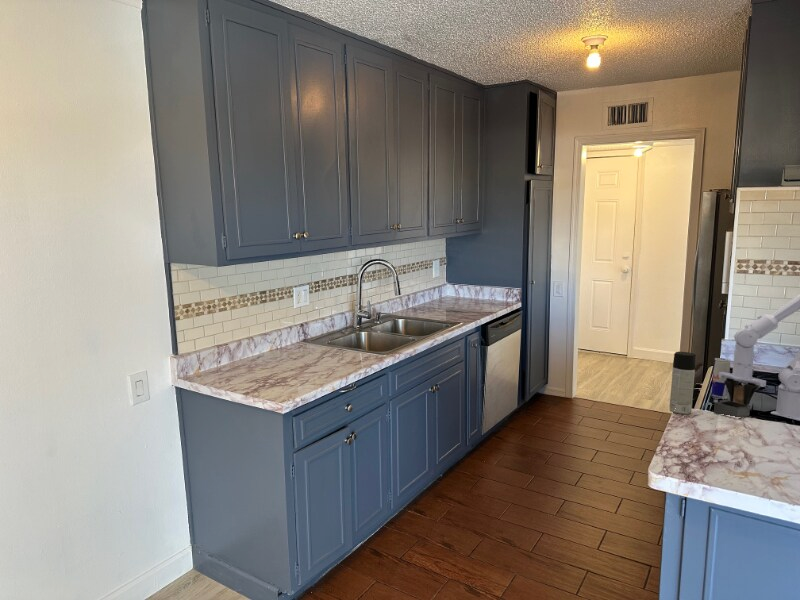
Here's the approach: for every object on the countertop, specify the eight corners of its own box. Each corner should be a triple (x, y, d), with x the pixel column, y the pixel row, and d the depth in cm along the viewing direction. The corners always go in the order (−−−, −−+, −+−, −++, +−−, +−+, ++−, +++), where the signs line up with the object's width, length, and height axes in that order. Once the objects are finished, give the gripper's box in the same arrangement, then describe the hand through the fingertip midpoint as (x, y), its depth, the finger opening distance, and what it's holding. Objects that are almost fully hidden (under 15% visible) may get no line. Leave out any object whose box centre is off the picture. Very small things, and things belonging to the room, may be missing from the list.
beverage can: (712, 396, 210) (716, 356, 208) (728, 398, 207) (731, 359, 205) (709, 398, 206) (713, 358, 204) (725, 401, 203) (729, 360, 201)
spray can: (693, 412, 188) (698, 353, 186) (687, 416, 183) (692, 355, 181) (672, 407, 192) (677, 350, 191) (666, 411, 187) (670, 352, 186)
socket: (749, 416, 185) (750, 405, 185) (737, 419, 181) (738, 408, 181) (725, 410, 191) (726, 400, 191) (713, 412, 187) (714, 402, 187)
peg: (748, 410, 192) (750, 387, 191) (742, 411, 190) (744, 388, 189) (736, 407, 196) (738, 384, 195) (729, 408, 193) (731, 386, 193)
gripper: (715, 360, 195) (712, 398, 196) (760, 369, 183) (756, 409, 184) (726, 359, 199) (722, 396, 200) (770, 367, 187) (766, 406, 188)
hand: (739, 402), depth 193 cm, fingers closed on peg, 4 cm apart
